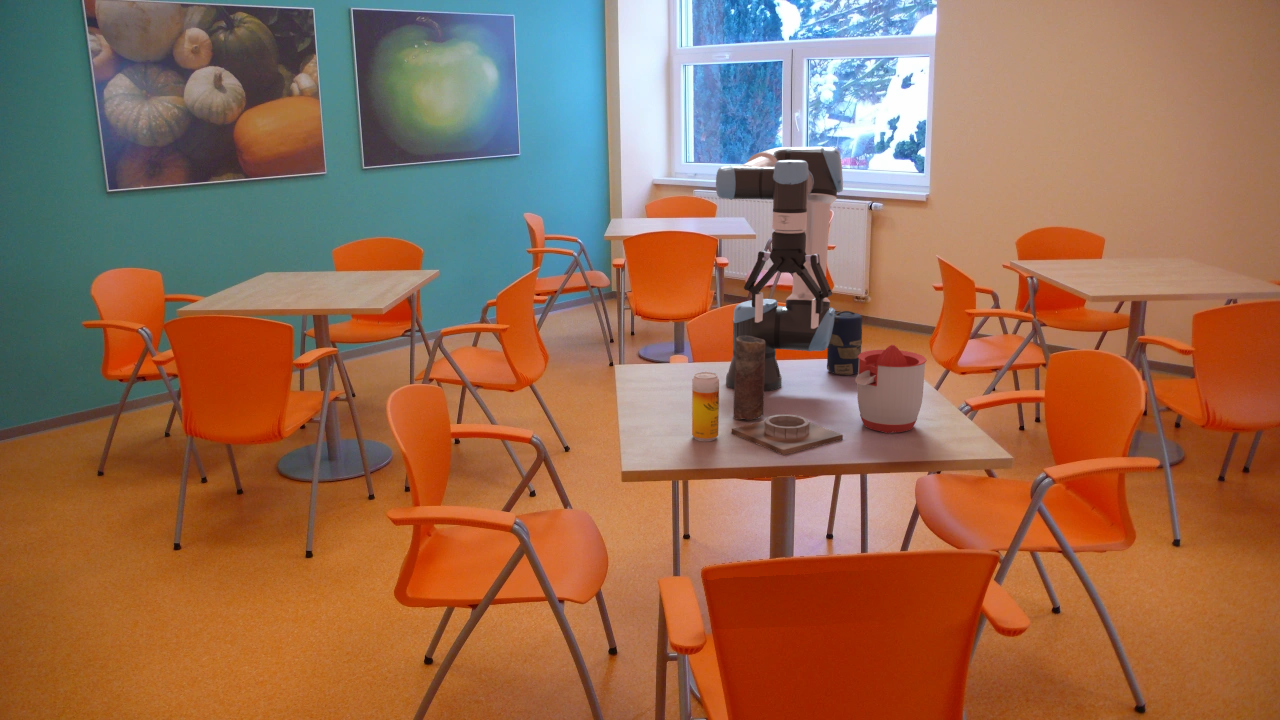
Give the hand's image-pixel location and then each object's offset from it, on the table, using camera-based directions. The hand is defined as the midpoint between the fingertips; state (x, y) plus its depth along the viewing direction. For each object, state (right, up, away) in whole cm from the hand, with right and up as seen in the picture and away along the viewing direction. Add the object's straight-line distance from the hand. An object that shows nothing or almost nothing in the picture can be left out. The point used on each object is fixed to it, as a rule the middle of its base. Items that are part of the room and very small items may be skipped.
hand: (786, 324), depth 225 cm
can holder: (+1, -26, +4) cm, 26 cm away
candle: (-7, -22, +18) cm, 29 cm away
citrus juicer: (+25, -24, +10) cm, 36 cm away
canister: (+25, -12, +58) cm, 64 cm away
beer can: (-18, -26, +3) cm, 32 cm away
